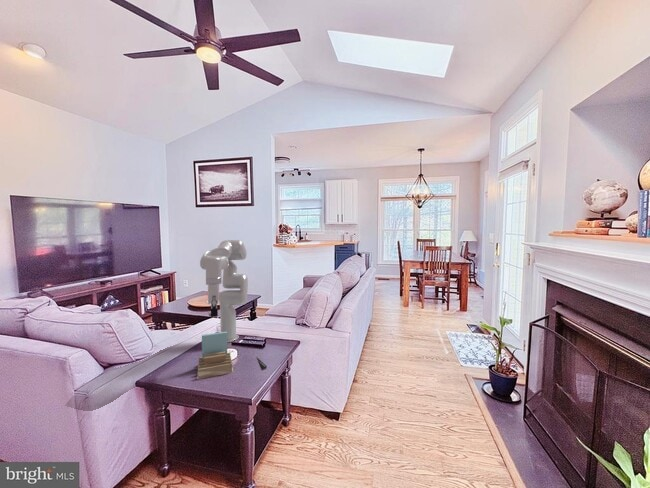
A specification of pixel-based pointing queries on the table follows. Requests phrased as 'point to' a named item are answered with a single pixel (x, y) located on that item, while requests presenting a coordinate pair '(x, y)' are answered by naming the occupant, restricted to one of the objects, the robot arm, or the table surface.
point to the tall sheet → (214, 343)
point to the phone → (261, 364)
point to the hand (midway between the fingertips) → (214, 313)
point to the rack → (214, 368)
